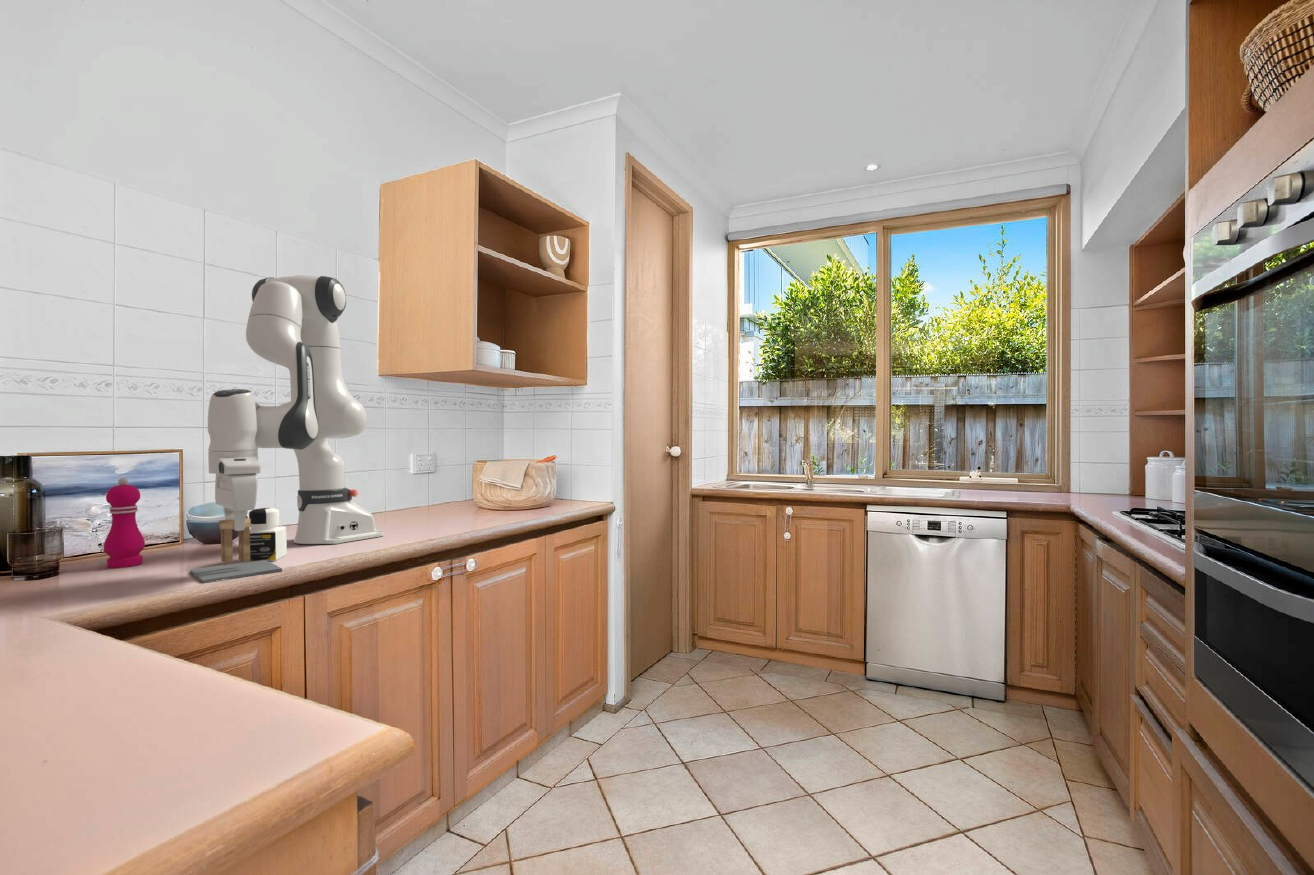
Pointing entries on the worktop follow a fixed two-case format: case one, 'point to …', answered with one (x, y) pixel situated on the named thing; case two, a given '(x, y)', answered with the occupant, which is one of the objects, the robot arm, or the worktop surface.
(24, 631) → the worktop surface
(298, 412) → the robot arm
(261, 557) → the medicine bottle
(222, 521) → the stool
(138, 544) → the pepper mill
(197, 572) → the mat
